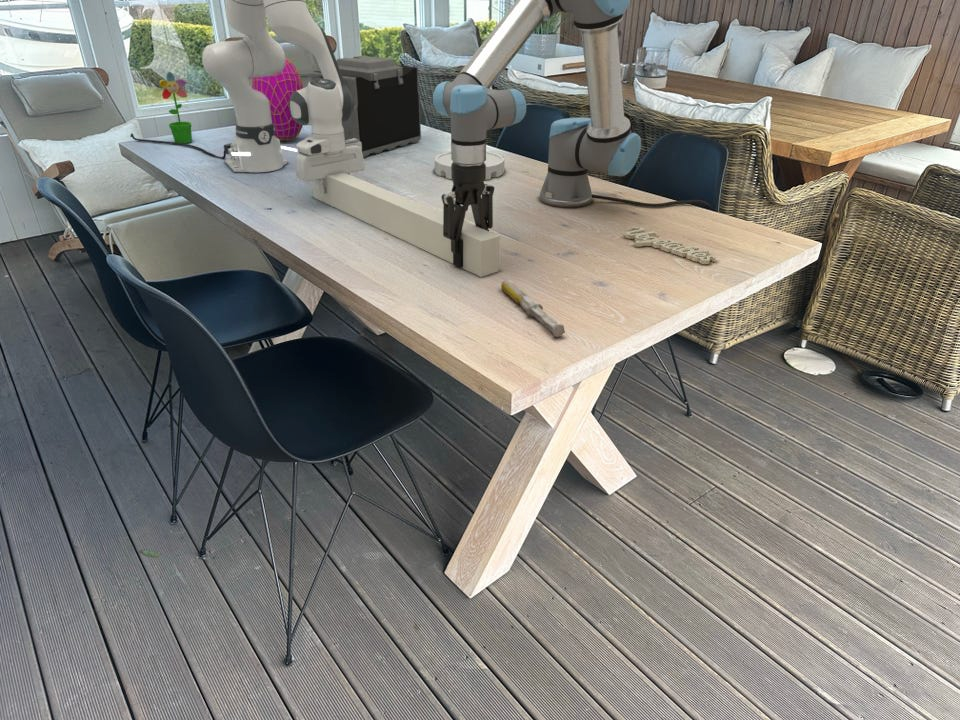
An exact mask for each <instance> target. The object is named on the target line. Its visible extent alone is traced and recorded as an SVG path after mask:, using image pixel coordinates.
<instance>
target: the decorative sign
mask: <svg viewBox="0 0 960 720" xmlns="http://www.w3.org/2000/svg"><path fill="white" fill-rule="evenodd" d="M624 238H626V239H629V240H630V239H631V240H634V247H636V248H639V247H653V248H655V249H660V250H661V251H663V252H667V253H671V254H673V255H677V256H679V257H685V259H687V260H691V261H693V262H696V263H697V262H698V263H700V264H702V265H709V264H710V261H711V262H712V263H715V262H716V258H717V257H716V256H715V255H711V254H710V250H709V249H700V247H699V246H697V245H696V246H686V247H685V246H684V245H683V243H682V242H681V241H677V240H676V241H675V240H673V239H667V240H666V239H662V238H658V237H657V232H656V231H645V228H643V227H639V226H631V229H630V231H625V234H624ZM709 254H710V255H709Z"/></svg>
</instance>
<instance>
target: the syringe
mask: <svg viewBox="0 0 960 720" xmlns="http://www.w3.org/2000/svg"><path fill="white" fill-rule="evenodd" d="M500 287H501V290H502V291H503V292H504V293H505V294H506V295H507V296H508V297H510V298H511V299H512V300H513V301H514V302H515V303H516V304H517V305H518V306H520V308H521V309H523V311H524V312H525V314H526V316H527V317H528V318H531V317H532V318H533V317H534V318H535V319H536V320H537V321H538V322H540V323H541V324H542V325H543V326H544V327H546V329H547V330H548V331H549V332H550V333H552V334H553V337H554V338H559V337H561V336H563V334H565V333H566V330H565V325H564V324H562V323H558V322H557V321H556V320H555V319H554V318H553V317H552V316H550V315H549V314H548V313H546V312H545V311H544V307H543V305H542V304H541V303H537V302H535V301H534V299H532V298H531V297H530V296H528V294H526V293H525V292H524V291H523V290H521V289H520V288H519V287H517V286H516V284H515V283H514V282H513V281H512V280H511V279H504V280H502V281H501V285H500Z"/></svg>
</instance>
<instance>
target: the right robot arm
mask: <svg viewBox="0 0 960 720" xmlns="http://www.w3.org/2000/svg"><path fill="white" fill-rule="evenodd" d="M630 3H631V0H515V1H514V2H513V4H512V6H510V8H509V9H508V11H507V12H506V13H505V14H504V15H503V17H502V18H501V19H500V21H499V22H498V23H497V24H496V25H495V27H494V28H493V29H492V31H491V32H490V33H489V35H488V36H487V37H486V38H485V39H484V41H483V42H482V44H480V45H479V46H480V47H478V48H477V50H476V51H475V53H474V54H473V55H472V57H471V58H470V59H469V61H468V62H467V63H466V64H465V65H464V67H463V68H462V69H461V70H460V72H459V73H458V74H457V76H456V77H455V78H454V80H452V81H450V80H448V81H442V82H440V83H439V84H438V85H437V86H436V87H435V88H434V90H433V94H432V103H433V107H434V109H435V111H436V112H437V113H438V114H439V115H442V116H444V117H447V118H450V152H451V160H452V161H453V163H452V164H451V178H452V179H451V181H452V188H451V191H450V192H448V193H447V194H445V193H443V194H442V195H441V198H440V199H441V201H442V205H443V208H442V209H443V212H442V213H443V236H444V237H446V238H448V239H450V240H451V252H452V253H453V263H452V265H454V266H456V267H458V268H460V269H462V268H461V267H463V240H462V239H460V237H461V232H462V227H463V223H464V222H465V217H466V213H467V211H468V210H469V207H470V208H471V211H472V216H473V220H474V224H475V225H474V226H477V227H479V228H482V229H484V230H487V231H489V232H490V229H492V228H493V226H494V217H493V216H494V211H493V208H494V207H493V203H494V201H493V196H494V193H495V187H494V185H490V184H488V183H485V181H486V180H485V178H486V164H485V163H484V162H485V161H486V152H487V132H488V131H491V130H495V129H501V128H507V127H512V126H513V125H516V124H518V123H520V122H522V121H523V119H524V118H525V117H526V113H527V101H526V98H525V96H524V94H523V93H522V92H521V91H520V90H518V89H516V88H504V89H493V88H492V87H493V85H494V84H495V83H496V81H497V80H498V78H499V77H500V76H501V75H502V74H503V72H504V70H505V69H506V68H507V67H508V66H509V64H510V63H511V62H512V60H513V59H514V58H515V56H516V55H517V54H518V53H519V52H520V50H521V49H522V47H523V46H524V45H525V44H526V42H527V41H528V40H529V38H530V37H531V36H532V35H533V33H534V32H535V31H536V29H538V27H539V25H543V24H546V23H547V22H548V21H549V19H550V18H551V17H552V16H554V15H555V14H558V13H570V14H572V19H573V20H572V22H573V26H574V28H575V29H576V30H577V31H579V32H580V33H581V42H582V43H581V44H582V53H583V61H584V69H585V78H586V79H585V80H586V87H587V96H588V105H589V115H590V117H569V118H568V117H567V118H562V119H557V120H554V121H553V122H552V123H551V125H550V129H549V130H550V131H549V135H548V139H549V141H548V156H547V158H548V159H547V173H546V176H545V178H544V181H543V184H542V187H541V189H540V192H539V200H540V202H542V203H543V204H546V205H549V206H553V207H558V208H559V207H560V208H580V207H584V206H588V205H589V204H591V203H592V199H598V200H604V201H611V202H617V203H624V204H629V205H633V206H639V207H649V208H662V207H663V208H664V207H669V206H674V205H691V204H700V205H703V206H705V207H706V208H707V209H710V210H711V209H713V207H712V205H711V204H710V203H708V202H707V201H705V200H702V199H689V200H688V199H687V200H674V201H667V202H660V203H652V202H650V203H649V202H642V201H641V202H640V201H635V200H631V199H625V198H618V197H612V196H607V195H599V194H593V193H592V188H591V184H590V179H589V171H593V172H597V173H601V174H606V175H608V176H611V177H612V176H616V177H624V176H626V175H628V174H629V173H630V172H631V171H632V170H633V168H634V167H635V165H636V163H637V161H638V160H639V156H640V153H641V149H642V139H641V136H640V135H639V134H638V133H636V132H632V125H631V121H630V119H629V118H628V117H627V116H625V112H624V111H625V110H624V98H623V85H622V71H621V69H622V68H621V58H620V57H621V56H620V46H619V30H618V25H619V24H620V22H621V21H622V20H623V18H624V13H625V12H626V11H627V9H628V7H629V6H630Z"/></svg>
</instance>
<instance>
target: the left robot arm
mask: <svg viewBox="0 0 960 720" xmlns="http://www.w3.org/2000/svg"><path fill="white" fill-rule="evenodd" d="M225 12H226V15H225V16H226V20H227V23H228V24H229V26H230V27H231V28H232V29H234V30H235V31H237V32H238V33H240V34H243V39H240V40H223V41H218V42H215V43H212V44H211V43H210V44H209V45H206V46H205V48H204V49H203V51H202V57H201V59H202V64H203V67H204V70H205V71H206V73H207V74H208V75H209V76H210V77H211V78H212V79H213V80H215V81H217V82H218V83H219V84H220V85H221V86H222V87H223V88H224V89H225V90H226V91H227V93H228V95H229V98H230V100H231V102H232V106H233V111H234V116H235V120H236V124H235V136H236V137H235V138H234V139H233V141H232V142H230V143H226V144H223V148H224V150H223V156H218V155H215V154H214V153H211V152H209V151H207V150H205V149H204V148H201V147H199V146H196V145H193V144H189V143H176V142H175V141H166V140H155V139H143V138H137V137H135V135H134V133H130V138H132V139H133V140H134V141H137V142H147V143H155V144H157V143H158V144H167V145H178V146H184V147H189V148H193V149H197V150H199V151H202V152H204V153H205V154H207V155H208V156H211V157H214V158H215V159H221V160H224V159H225V160H224V163H225V164H226V165H227V166H228V168H230V169H231V171H233V172H234V173H257V174H258V173H268V172H273V171H277V170H278V171H279V170H280V169H282V168H284V165H288V160H287V159H285V158H284V156H283V150H287V151H291V152H296V153H297V152H298V153H297V155H296V156H295V171H296V177H297V179H299V180H300V181H302V182H304V183H307V182H312V181H313V180H315V183H316V184H317V185H318V187H319V191H320V193H321V194H326V193H327V188H326V187H324V186H323V185H322V184H321V183H322V182H323V181H322V179H323V178H327V176H328V175H333V174H338V173H343V172H344V173H346V174H349V175H351V174H353V173H359V172H363V171H364V170H365V166H366V165H365V159H364V158H365V157H363V154H362V143H361V142H360V140H358V139H357V138H352V139H346V140H345V137H344V128H343V126H342V123H344V122H346V121H347V120H348V119H349V118H350V117H351V115H352V113H353V110H354V101H353V98H352V95H351V93H350V91H349V90H348V88H347V86H346V84H345V82H344V79H343V77H342V74H341V72H340V69H339V66H338V64H337V58H336V56H335V53H334V50H333V49H332V45H331V43H330V41H329V38H328V36H327V34H326V32H325V30H324V29H323V27H322V26H321V25H319V24H317V22H315V20H314V18H313V17H312V15H311V13H310V11H309V9H308V5H307V2H306V0H225ZM267 22H268V25H269V28H270V29H271V31H272V33H273V34H275V36H277V37H278V38H279V39H280V40H282V41H283V42H285V43H288V44H290V45H294V46H297V47H299V48H302V49H304V50H306V51H307V52H309V53H310V54H311V55H312V56H313V57H314V58H315V60H316V62H317V65H318V68H319V71H321V73H322V75H323V78H324V79H322V78H319V79H313V80H312V79H311V80H309V81H308V83H307V85H306V86H305V87H304V88H303V89H300V90H298V91H294V92H293V94H292V95H291V97H290V100H289V110H290V115H291V117H292V118H293V119H294V120H295V121H296V122H297V123H298V124H300V125H303V126H306V127H308V126H311V135H310V136H308V137H306V138H304V139H303V140H300V141H299V142H296V145H295V147H296V148H293V147H288V146H285V145H281V141H280V140H279V139H278V138H276V137H275V127H274V124H273V122H272V118H271V111H270V104H269V100H268V98H267V97H266V96H265V95H264V94H263V93H261V92H259V91H257V90H255V89H252V84H251V83H250V80H251V79H252V78H258V77H268V76H272V75H275V74H277V73H280V72H282V70H283V69H284V66H285V58H286V53H285V51H284V49H283V47H282V45H280V43H278V41H276V40H275V39H274V38H273V37H272V35H271V34H270V32H269V30H268V26H267ZM227 155H229V157H228V158H226V156H227Z"/></svg>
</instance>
